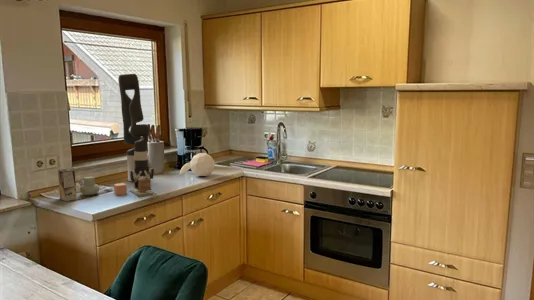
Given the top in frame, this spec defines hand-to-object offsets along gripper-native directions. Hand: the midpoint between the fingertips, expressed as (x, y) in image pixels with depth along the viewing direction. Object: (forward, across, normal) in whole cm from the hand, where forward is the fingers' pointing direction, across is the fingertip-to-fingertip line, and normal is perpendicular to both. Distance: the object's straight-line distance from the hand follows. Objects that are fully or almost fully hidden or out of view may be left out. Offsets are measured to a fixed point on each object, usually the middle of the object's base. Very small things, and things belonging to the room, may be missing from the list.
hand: (142, 186), depth 236 cm
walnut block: (+1, 0, 0) cm, 1 cm away
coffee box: (+4, +38, -11) cm, 40 cm away
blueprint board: (+4, 0, 0) cm, 4 cm away
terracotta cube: (+4, +11, -6) cm, 13 cm away
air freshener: (+4, +26, -14) cm, 30 cm away
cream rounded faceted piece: (+4, -48, -26) cm, 54 cm away
